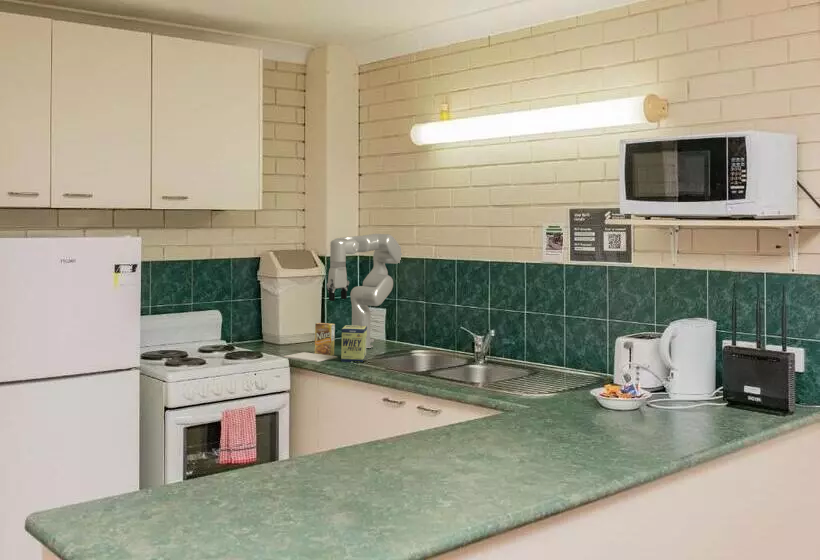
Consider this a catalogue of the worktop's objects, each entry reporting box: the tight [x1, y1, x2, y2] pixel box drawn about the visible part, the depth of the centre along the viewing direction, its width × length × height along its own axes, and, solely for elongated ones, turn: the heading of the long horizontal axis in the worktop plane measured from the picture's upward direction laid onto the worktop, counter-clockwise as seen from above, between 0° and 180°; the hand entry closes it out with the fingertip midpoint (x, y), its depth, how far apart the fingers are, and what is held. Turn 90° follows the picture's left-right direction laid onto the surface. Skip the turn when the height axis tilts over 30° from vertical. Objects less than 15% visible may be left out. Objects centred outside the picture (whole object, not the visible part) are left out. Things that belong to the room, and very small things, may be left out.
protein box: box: [340, 324, 367, 363], centre depth 425 cm, size 10×16×16 cm
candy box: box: [314, 322, 336, 356], centre depth 437 cm, size 9×4×15 cm, turn 70°
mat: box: [282, 351, 338, 363], centre depth 428 cm, size 16×20×1 cm
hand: (337, 299), depth 444 cm, fingers open, 9 cm apart
